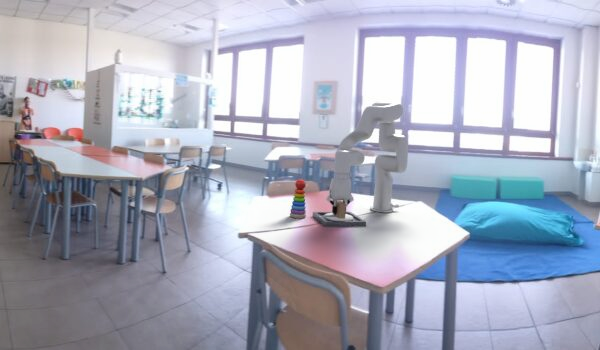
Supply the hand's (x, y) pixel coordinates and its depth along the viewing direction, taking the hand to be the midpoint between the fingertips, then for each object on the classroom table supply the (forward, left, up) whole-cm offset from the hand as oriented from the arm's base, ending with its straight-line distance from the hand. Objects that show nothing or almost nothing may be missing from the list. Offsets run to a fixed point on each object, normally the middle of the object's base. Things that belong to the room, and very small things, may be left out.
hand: (338, 213), depth 190 cm
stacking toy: (+18, -9, -4) cm, 20 cm away
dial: (0, 0, -2) cm, 2 cm away
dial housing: (0, 0, -4) cm, 4 cm away
